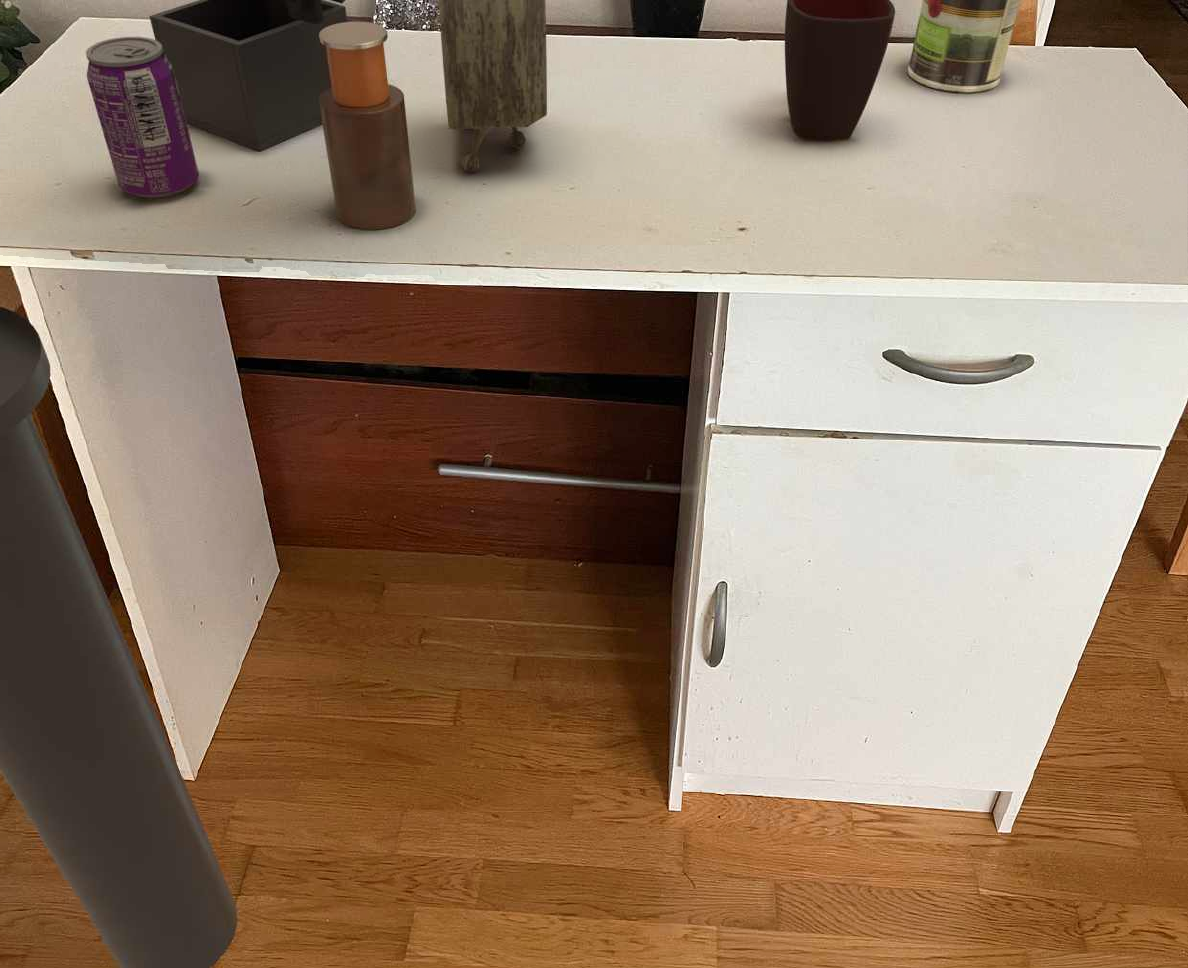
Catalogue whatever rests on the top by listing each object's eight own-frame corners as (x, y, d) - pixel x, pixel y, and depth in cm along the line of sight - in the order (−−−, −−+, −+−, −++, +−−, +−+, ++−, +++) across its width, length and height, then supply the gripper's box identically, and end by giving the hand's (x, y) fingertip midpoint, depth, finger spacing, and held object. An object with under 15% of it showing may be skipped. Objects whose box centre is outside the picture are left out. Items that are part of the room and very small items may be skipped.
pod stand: (377, 237, 96) (361, 120, 89) (320, 214, 99) (300, 99, 92) (432, 208, 100) (421, 94, 93) (375, 186, 103) (360, 74, 96)
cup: (780, 151, 110) (798, 20, 101) (759, 96, 120) (773, -27, 111) (880, 150, 110) (905, 20, 102) (850, 96, 120) (871, -27, 111)
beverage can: (214, 173, 104) (182, 38, 96) (178, 207, 100) (142, 68, 91) (144, 166, 105) (106, 31, 97) (106, 199, 101) (63, 60, 92)
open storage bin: (259, 151, 108) (238, 45, 101) (174, 119, 113) (149, 15, 106) (359, 108, 116) (345, 6, 109) (275, 79, 121) (257, -20, 114)
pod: (361, 115, 90) (353, 49, 86) (314, 99, 92) (304, 34, 89) (407, 94, 93) (401, 31, 89) (361, 79, 95) (352, 16, 92)
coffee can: (947, 99, 120) (981, -47, 110) (888, 67, 126) (915, -74, 116) (1021, 84, 123) (1060, -60, 113) (959, 53, 129) (991, -85, 119)
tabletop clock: (450, 119, 114) (428, -172, 96) (539, 117, 115) (533, -173, 97) (452, 182, 104) (427, -131, 86) (549, 179, 105) (544, -132, 87)
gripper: (364, -291, 82) (393, -34, 94) (175, -259, 72) (234, 23, 84) (440, -281, 79) (460, -17, 91) (254, -247, 69) (304, 45, 81)
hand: (352, 2), depth 88 cm, fingers open, 9 cm apart
